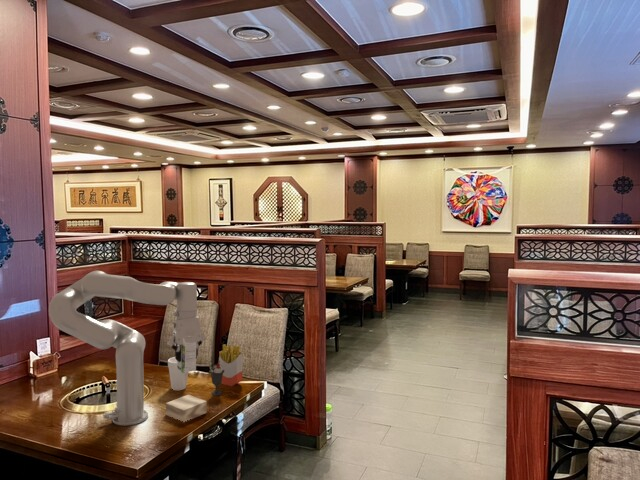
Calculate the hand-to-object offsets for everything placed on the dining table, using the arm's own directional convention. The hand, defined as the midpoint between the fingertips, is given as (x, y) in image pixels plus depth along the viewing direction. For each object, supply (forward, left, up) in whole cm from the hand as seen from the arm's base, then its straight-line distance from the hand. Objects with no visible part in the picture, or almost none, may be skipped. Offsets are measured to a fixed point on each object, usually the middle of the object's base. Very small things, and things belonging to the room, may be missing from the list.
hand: (186, 359), depth 184 cm
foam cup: (+8, +28, -22) cm, 37 cm away
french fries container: (+29, +19, -22) cm, 41 cm away
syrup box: (0, 0, -5) cm, 5 cm away
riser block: (0, 0, -22) cm, 22 cm away
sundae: (+19, +12, -22) cm, 31 cm away
